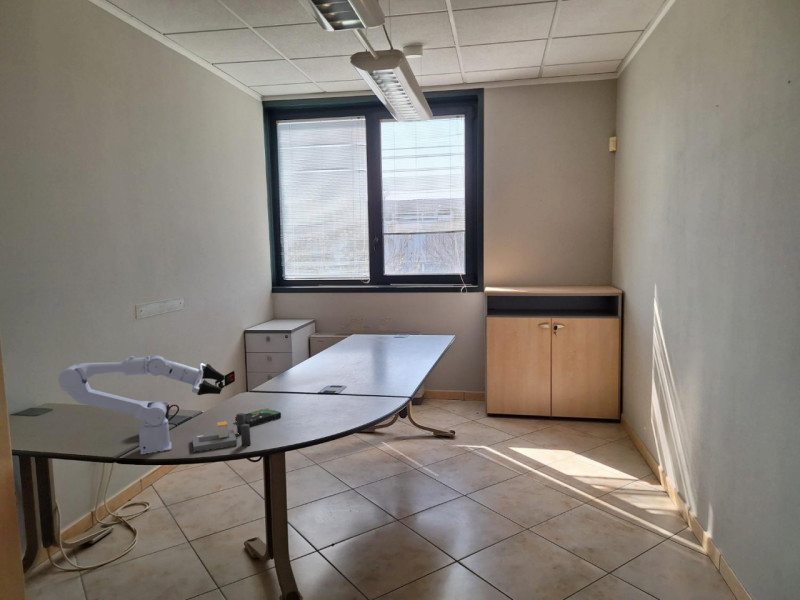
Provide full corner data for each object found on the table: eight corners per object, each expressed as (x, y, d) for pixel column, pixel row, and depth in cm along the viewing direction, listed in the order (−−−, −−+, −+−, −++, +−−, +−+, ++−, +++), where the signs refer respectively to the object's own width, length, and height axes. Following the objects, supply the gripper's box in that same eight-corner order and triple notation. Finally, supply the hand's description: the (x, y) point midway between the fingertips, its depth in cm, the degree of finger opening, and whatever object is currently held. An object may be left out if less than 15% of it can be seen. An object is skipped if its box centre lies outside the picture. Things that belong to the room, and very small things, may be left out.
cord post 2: (242, 447, 184) (241, 427, 184) (241, 444, 187) (240, 424, 186) (251, 445, 185) (250, 425, 185) (250, 442, 188) (248, 423, 188)
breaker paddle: (218, 438, 187) (218, 425, 187) (218, 434, 191) (217, 422, 191) (227, 436, 189) (227, 424, 188) (226, 433, 192) (226, 421, 192)
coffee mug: (144, 435, 200) (142, 409, 199) (148, 428, 208) (146, 403, 207) (178, 431, 203) (176, 405, 202) (180, 424, 211) (178, 400, 210)
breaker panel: (193, 452, 181) (193, 446, 180) (192, 441, 192) (192, 435, 192) (237, 445, 186) (236, 439, 186) (233, 434, 197) (233, 429, 197)
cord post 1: (237, 434, 197) (236, 416, 197) (236, 432, 200) (235, 413, 199) (246, 433, 198) (245, 414, 198) (245, 431, 201) (244, 412, 200)
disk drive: (249, 429, 205) (281, 418, 216) (248, 421, 205) (281, 411, 216) (235, 423, 212) (267, 414, 223) (234, 416, 212) (266, 407, 223)
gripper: (183, 377, 179) (223, 388, 184) (191, 352, 191) (228, 364, 196) (176, 392, 181) (216, 404, 186) (184, 367, 194) (221, 379, 199)
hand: (222, 384), depth 191 cm, fingers open, 7 cm apart
